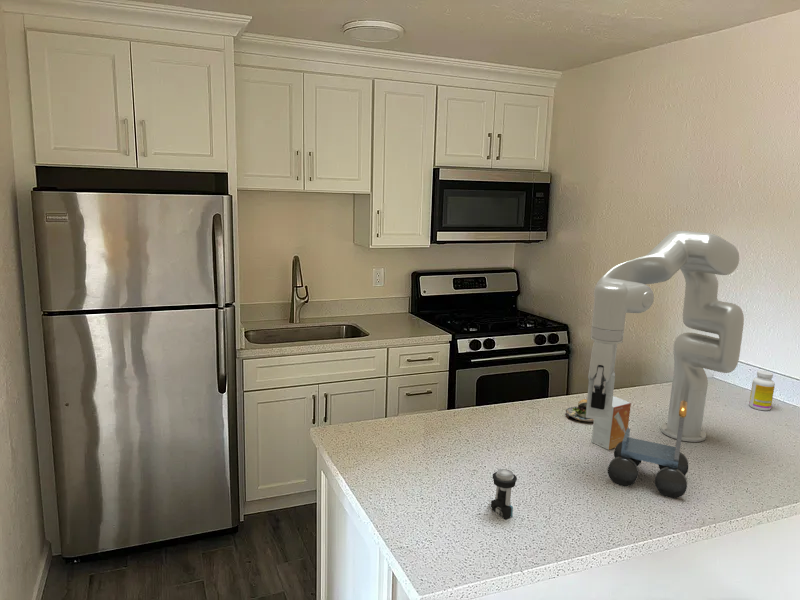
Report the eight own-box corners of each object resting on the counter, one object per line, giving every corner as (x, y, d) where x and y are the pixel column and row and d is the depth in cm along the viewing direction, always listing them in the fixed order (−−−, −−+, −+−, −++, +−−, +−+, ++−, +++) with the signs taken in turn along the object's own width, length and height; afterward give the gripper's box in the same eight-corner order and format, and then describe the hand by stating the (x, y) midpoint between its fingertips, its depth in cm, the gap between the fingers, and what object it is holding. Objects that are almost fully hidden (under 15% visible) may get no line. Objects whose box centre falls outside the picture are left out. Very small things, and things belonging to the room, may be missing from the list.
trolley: (613, 461, 162) (622, 386, 158) (686, 478, 154) (697, 399, 150) (606, 482, 150) (615, 401, 146) (684, 501, 142) (696, 417, 138)
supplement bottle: (774, 411, 205) (780, 376, 203) (755, 410, 205) (761, 375, 203) (763, 404, 212) (769, 370, 209) (744, 403, 212) (750, 369, 209)
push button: (480, 509, 135) (483, 468, 133) (496, 502, 138) (499, 462, 136) (502, 523, 130) (505, 480, 128) (518, 515, 133) (522, 474, 131)
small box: (608, 450, 169) (613, 407, 166) (590, 442, 174) (595, 400, 171) (626, 444, 173) (631, 402, 171) (608, 436, 178) (613, 395, 176)
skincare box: (610, 415, 150) (615, 370, 148) (610, 421, 146) (615, 375, 144) (585, 412, 152) (590, 367, 150) (584, 417, 148) (589, 371, 146)
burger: (562, 421, 190) (564, 398, 188) (567, 409, 200) (569, 388, 199) (601, 428, 185) (604, 405, 184) (604, 415, 196) (607, 394, 194)
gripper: (596, 325, 154) (589, 392, 158) (584, 339, 140) (577, 412, 143) (627, 329, 151) (619, 397, 155) (618, 344, 136) (609, 419, 140)
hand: (599, 404), depth 149 cm, fingers closed on skincare box, 4 cm apart
